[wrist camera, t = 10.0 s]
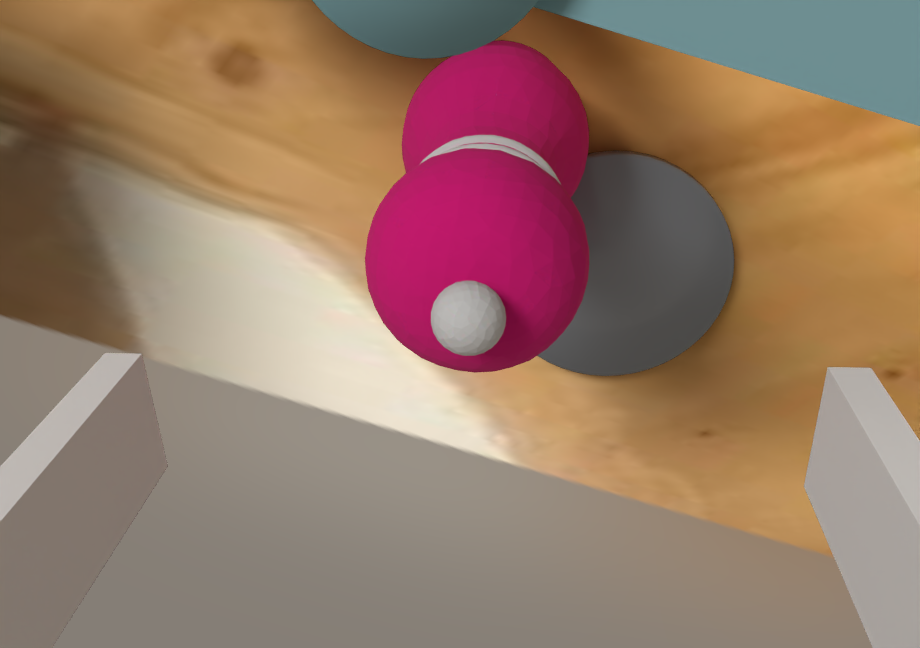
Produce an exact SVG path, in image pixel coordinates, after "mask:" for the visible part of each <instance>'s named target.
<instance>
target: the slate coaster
mask: <svg viewBox="0 0 920 648" xmlns="http://www.w3.org/2000/svg"><path fill="white" fill-rule="evenodd" d="M571 199H572V201H573V202H574V204H575V206H576V207H577V209H578V211H579V212H580V215H581V217H582V220H583V222H584V225H585V230H586V235H587V241H588V246H589V274H588V282H587V286H586V289H585V293H584V296H583V300H582V302H581V304H580V306H579V308H578V310H577V312H576V314H575V316H574V318H573V320H572V321H571V323H570V324H569V325H568V327H567V328H566V329H565V331H564V332H563V333H562V334H561V335H560V336H559V337H558V338H557V340H556V341H555V342H554V343H553V344H551V345H550V346H549V347H548V348H547V349H546V350H545V351H543V352H541V353H540V354H538V355H537V356H539V357H541V358H542V359H544V360H546V361H547V362H550V363H552V364H554V365H556V366H559V367H561V368H564V369H567V370H570V371H574V372H578V373H583V374H588V375H600V376H612V375H624V374H631V373H636V372H640V371H644V370H647V369H650V368H653V367H656V366H658V365H661V364H663V363H665V362H667V361H669V360H671V359H673V358H675V357H676V356H678V355H679V354H681V353H682V352H684V351H685V350H687V349H688V348H690V347H691V346H692V345H693V344H694V343H695V342H696V341H698V340H699V339H700V338H701V337H702V336H703V335H704V333H705V332H706V331H707V330H708V329H709V328H710V327H711V325H712V324H713V322H714V321H715V320H716V318H717V317H718V315H719V313H720V311H721V309H722V308H723V306H724V304H725V302H726V299H727V296H728V293H729V291H730V287H731V283H732V278H733V271H734V252H733V243H732V239H731V235H730V231H729V228H728V226H727V223H726V221H725V218H724V216H723V214H722V212H721V211H720V209H719V207H718V206H717V204H716V202H715V201H714V199H713V197H712V196H711V195H710V194H709V192H708V191H707V190H706V189H705V188H704V186H703V185H702V184H700V183H699V182H698V181H697V180H696V179H695V178H694V177H693V176H692V175H690V174H689V173H687V172H686V171H684V170H683V169H681V168H680V167H678V166H676V165H674V164H672V163H670V162H668V161H666V160H664V159H661V158H658V157H655V156H652V155H649V154H643V153H638V152H633V151H601V152H595V153H590V154H588V155H587V160H586V165H585V170H584V173H583V176H582V178H581V180H580V183H579V185H578V188H577V189H576V191H575V192H574V194H573V196H572V197H571Z"/></svg>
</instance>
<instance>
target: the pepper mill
mask: <svg viewBox="0 0 920 648" xmlns="http://www.w3.org/2000/svg"><path fill="white" fill-rule="evenodd" d="M588 148H589V128H588V122H587V116H586V112H585V109H584V107H583V104H582V102H581V99H580V97H579V95H578V93H577V92H576V90H575V88H574V87H573V85H572V84H571V82H570V81H569V79H568V78H567V77H566V76H565V75H564V74H563V73H562V72H561V71H560V70H559V69H558V68H557V67H556V66H555V65H554V64H553V63H552V62H551V61H550V60H549V59H548V58H547V57H545V56H544V55H543V54H541V53H540V52H538V51H536V50H535V49H533V48H531V47H528V46H526V45H523V44H520V43H516V42H511V41H492V42H490V43H488V44H486V45H484V46H482V47H479V48H477V49H475V50H472V51H469V52H466V53H463V54H459V55H454V56H452V57H450V58H448V59H446V60H445V61H443V62H442V63H441V64H439V65H438V66H437V67H436V68H435V69H434V70H432V71H431V72H430V73H429V74H428V75H427V77H426V78H425V79H424V80H423V81H422V82H421V84H420V85H419V87H418V89H417V90H416V92H415V93H414V95H413V97H412V100H411V102H410V105H409V107H408V110H407V114H406V118H405V123H404V128H403V138H402V154H403V162H404V166H405V170H406V174H405V175H404V176H403V177H402V178H401V179H400V180H398V181H397V182H396V183H395V184H394V185H393V187H392V188H391V189H390V191H389V192H388V193H387V195H386V196H385V198H384V199H383V200H382V202H381V203H380V205H379V207H378V209H377V211H376V213H375V215H374V218H373V220H372V224H371V227H370V231H369V234H368V238H367V247H366V256H365V265H366V276H367V282H368V289H369V292H370V295H371V297H372V300H373V303H374V306H375V308H376V310H377V312H378V314H379V315H380V317H381V319H382V321H383V323H384V324H385V325H386V327H387V328H388V329H389V330H390V331H391V333H392V334H393V335H394V336H395V338H396V339H397V340H398V341H400V342H401V343H402V344H403V345H404V346H405V347H407V348H408V349H410V350H411V351H412V352H414V353H415V354H417V355H418V356H420V357H421V358H423V359H425V360H428V361H430V362H432V363H435V364H437V365H440V366H443V367H447V368H451V369H454V370H460V371H468V372H491V371H498V370H502V369H506V368H510V367H513V366H516V365H518V364H521V363H524V362H526V361H529V360H531V359H532V358H534V357H535V356H537V355H538V354H540V353H541V352H543V351H545V350H546V349H547V348H548V347H549V346H550V345H551V344H553V343H554V342H555V341H556V340H557V338H558V337H559V336H560V335H561V334H562V333H563V332H564V331H565V329H566V328H567V327H568V325H569V324H570V323H571V321H572V320H573V318H574V316H575V314H576V312H577V310H578V308H579V306H580V304H581V302H582V300H583V296H584V293H585V289H586V286H587V282H588V274H589V246H588V241H587V235H586V230H585V225H584V222H583V220H582V217H581V215H580V212H579V211H578V209H577V207H576V206H575V204H574V202H573V201H572V199H571V197H572V196H573V194H574V192H575V191H576V189H577V188H578V185H579V183H580V180H581V178H582V176H583V173H584V170H585V165H586V160H587V155H588Z"/></svg>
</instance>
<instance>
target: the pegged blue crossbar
mask: <svg viewBox="0 0 920 648" xmlns="http://www.w3.org/2000/svg"><path fill="white" fill-rule="evenodd" d="M312 1H313V2H314V3H315V4H316V5H317V6H318V8H319V9H320V10H321V11H322V12H323V13H324V14H325V15H326V16H327V17H328V18H329V19H330V20H331V21H332V22H334V23H335V24H336V25H337V26H338V27H339V28H341V29H342V30H344V31H345V32H346V33H348V34H349V35H351V36H352V37H353V38H355V39H357V40H359V41H361V42H363V43H365V44H367V45H369V46H370V47H373V48H376V49H378V50H381V51H384V52H386V53H390V54H395V55H399V56H403V57H411V58H422V59H426V58H443V57H449V56H454V55H459V54H463V53H466V52H469V51H472V50H475V49H477V48H479V47H482V46H484V45H486V44H488V43H490V42H492V41H494V40H495V39H497V38H498V37H500V36H501V35H503V34H504V33H506V32H507V31H509V30H510V29H511V28H512V27H513V26H515V25H516V24H517V23H518V22H519V21H520V20H522V19H523V18H524V17H525V16H526V14H527V13H528V12H529V11H530V10H531V9H532V8H533V7H535V8H539V9H542V10H545V11H548V12H552V13H555V14H558V15H561V16H565V17H568V18H571V19H574V20H578V21H581V22H584V23H587V24H590V25H594V26H597V27H600V28H603V29H607V30H610V31H613V32H616V33H620V34H623V35H626V36H629V37H633V38H636V39H639V40H642V41H646V42H649V43H652V44H655V45H659V46H662V47H665V48H668V49H672V50H675V51H678V52H681V53H685V54H688V55H691V56H694V57H698V58H701V59H704V60H707V61H711V62H714V63H717V64H720V65H723V66H727V67H730V68H733V69H736V70H740V71H743V72H746V73H749V74H753V75H756V76H759V77H762V78H766V79H769V80H772V81H775V82H779V83H782V84H785V85H788V86H792V87H795V88H798V89H801V90H805V91H808V92H811V93H814V94H818V95H821V96H824V97H827V98H831V99H834V100H837V101H840V102H844V103H847V104H850V105H853V106H857V107H860V108H863V109H866V110H869V111H873V112H876V113H879V114H882V115H886V116H889V117H892V118H895V119H899V120H902V121H905V122H908V123H912V124H915V125H918V126H920V0H312Z"/></svg>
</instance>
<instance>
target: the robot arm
mask: <svg viewBox="0 0 920 648" xmlns="http://www.w3.org/2000/svg"><path fill="white" fill-rule="evenodd" d="M167 467H168V465H167V461H166V456H165V452H164V447H163V443H162V439H161V434H160V431H159V426H158V421H157V417H156V413H155V409H154V404H153V400H152V396H151V391H150V387H149V383H148V378H147V374H146V370H145V365H144V361H143V357H142V354H135V353H104V354H103V355H102V357H101V358H100V359H99V360H98V361H97V362H96V363H95V364H94V365H93V366H92V367H91V368H90V370H89V371H88V372H87V373H86V374H85V375H84V376H83V377H82V378H81V379H80V380H79V381H78V383H77V384H76V385H75V386H74V387H73V388H72V389H71V390H70V391H69V392H68V393H67V394H66V395H65V397H64V398H63V399H62V400H61V401H60V402H59V403H58V404H57V405H56V406H55V407H54V409H53V410H52V411H51V412H50V413H49V414H48V415H47V416H46V417H45V418H44V419H43V421H42V422H41V423H40V424H39V425H38V426H37V427H36V428H35V429H34V430H33V431H32V432H31V433H30V435H29V436H28V437H27V438H26V439H25V440H24V441H23V442H22V443H21V444H20V446H19V447H18V448H17V449H16V450H15V451H14V452H13V453H12V454H11V455H10V456H9V458H7V460H6V461H5V462H4V463H3V464H2V465H1V466H0V648H52V647H53V646H54V644H55V642H56V641H57V639H58V638H59V636H60V634H61V633H62V631H63V630H64V628H65V627H66V625H67V624H68V622H69V620H70V619H71V617H72V616H73V614H74V613H75V611H76V609H77V608H78V606H79V605H80V603H81V602H82V600H83V599H84V597H85V595H86V594H87V592H88V591H89V589H90V588H91V586H92V584H93V583H94V581H95V580H96V578H97V577H98V575H99V573H100V572H101V570H102V569H103V567H104V566H105V564H106V562H107V561H108V559H109V558H110V556H111V554H112V553H113V551H114V550H115V548H116V547H117V545H118V544H119V542H120V540H121V539H122V537H123V535H124V534H125V533H126V531H127V529H128V528H129V526H130V525H131V523H132V522H133V520H134V519H135V517H136V515H137V514H138V512H139V511H140V509H141V508H142V506H143V504H144V503H145V501H146V500H147V498H148V497H149V495H150V493H151V492H152V490H153V489H154V487H155V486H156V484H157V482H158V481H159V479H160V478H161V476H162V474H163V473H164V471H165V470H166V468H167ZM804 488H805V490H806V493H807V495H808V497H809V500H810V502H811V504H812V507H813V509H814V511H815V514H816V516H817V518H818V521H819V523H820V525H821V528H822V530H823V532H824V535H825V537H826V539H827V542H828V544H829V546H830V549H831V551H832V554H833V556H834V558H835V561H836V563H837V565H838V568H839V570H840V572H841V575H842V577H843V579H844V582H845V584H846V586H847V589H848V591H849V593H850V596H851V598H852V600H853V603H854V605H855V607H856V610H857V612H858V615H859V617H860V619H861V621H862V624H863V626H864V629H865V631H866V633H867V636H868V638H869V640H870V643H871V645H872V647H873V648H920V441H919V439H918V438H917V436H916V435H915V433H914V432H913V430H912V429H911V427H910V426H909V424H908V423H907V421H906V420H905V418H904V417H903V415H902V414H901V412H900V411H899V409H898V408H897V406H896V405H895V403H894V402H893V400H892V399H891V397H890V396H889V394H888V393H887V391H886V390H885V388H884V387H883V385H882V384H881V382H880V381H879V379H878V378H877V376H876V375H875V373H874V372H873V370H872V369H871V368H851V367H828V368H827V373H826V378H825V383H824V388H823V393H822V398H821V403H820V408H819V413H818V418H817V423H816V428H815V433H814V438H813V444H812V449H811V454H810V459H809V464H808V469H807V474H806V479H805V484H804Z"/></svg>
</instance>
